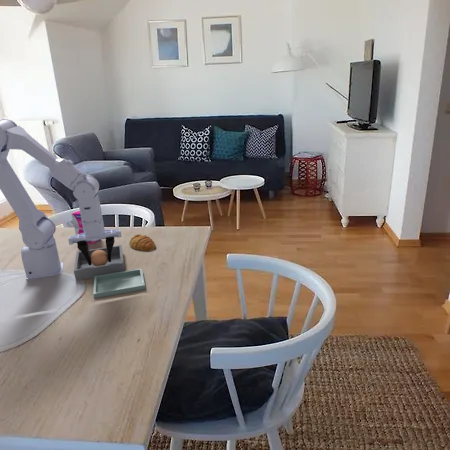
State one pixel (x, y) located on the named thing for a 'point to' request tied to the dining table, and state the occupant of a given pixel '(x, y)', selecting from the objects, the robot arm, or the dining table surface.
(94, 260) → the egg
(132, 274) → the tray
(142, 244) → the pastry
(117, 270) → the open square box
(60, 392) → the dining table surface
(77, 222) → the supplement box
